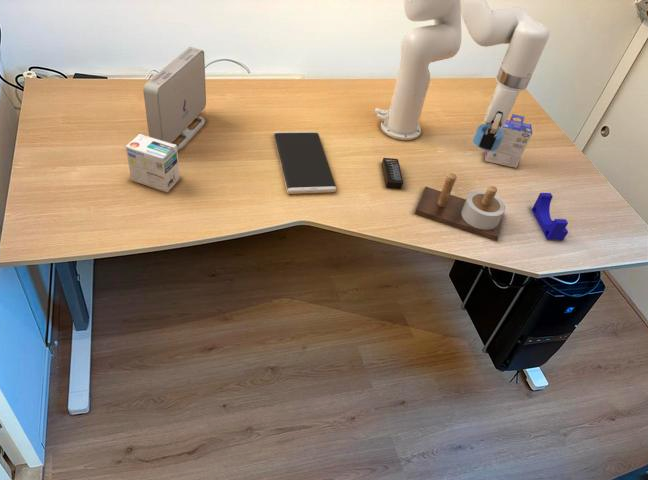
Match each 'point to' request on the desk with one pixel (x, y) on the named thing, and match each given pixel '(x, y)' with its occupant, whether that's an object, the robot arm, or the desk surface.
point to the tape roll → (482, 129)
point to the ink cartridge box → (511, 143)
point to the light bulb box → (153, 162)
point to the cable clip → (549, 218)
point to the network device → (176, 97)
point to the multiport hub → (392, 173)
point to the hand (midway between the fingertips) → (487, 139)
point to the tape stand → (464, 209)
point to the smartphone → (304, 163)
